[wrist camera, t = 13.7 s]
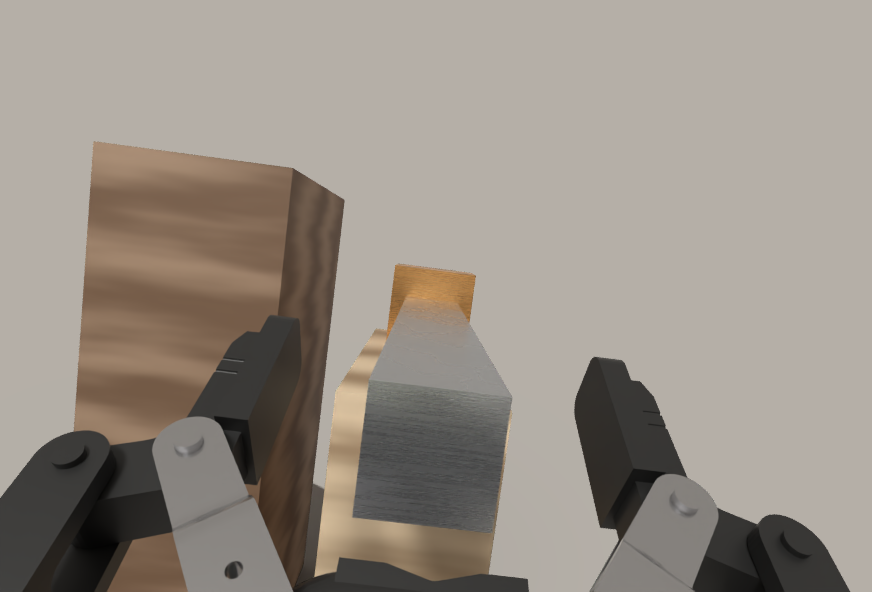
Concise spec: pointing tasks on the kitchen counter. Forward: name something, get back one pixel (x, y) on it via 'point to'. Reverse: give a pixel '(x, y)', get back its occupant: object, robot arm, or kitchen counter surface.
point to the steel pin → (432, 411)
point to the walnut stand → (202, 315)
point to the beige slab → (380, 540)
